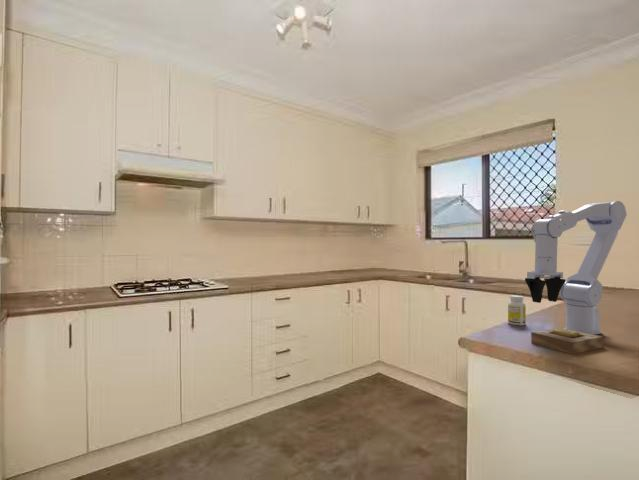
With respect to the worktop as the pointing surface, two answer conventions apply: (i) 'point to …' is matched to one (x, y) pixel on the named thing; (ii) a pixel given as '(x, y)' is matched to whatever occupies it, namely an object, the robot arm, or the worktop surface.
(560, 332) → the wooden block
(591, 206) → the robot arm
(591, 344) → the brown wooden frame
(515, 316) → the supplement bottle
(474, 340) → the worktop surface
